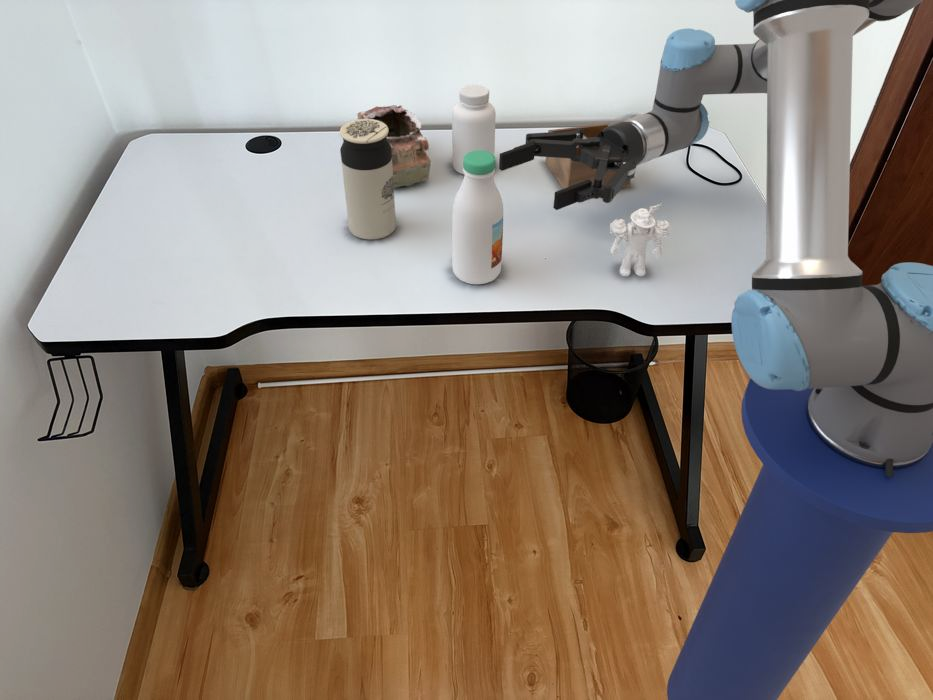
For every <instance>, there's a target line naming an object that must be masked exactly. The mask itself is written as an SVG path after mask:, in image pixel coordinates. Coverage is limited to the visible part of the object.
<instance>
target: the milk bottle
mask: <svg viewBox="0 0 933 700" xmlns="http://www.w3.org/2000/svg"><path fill="white" fill-rule="evenodd" d="M496 160H497V159H496V156H495V154H494V155H493V154H491V153H490V152H487V151H482V150H476V151H471V152H468V153H467V154H465V156H464V158H463V167H464V168H463V172H464V174H465V175H464V174H463V176H464V177H463V180H462V182H461V185H460V187H459V189H458V191H457V193H456V195H455V196H454V200H453V205H452V218H451V219H452V220H451V222H452V223H451V225H452V227H451V228H452V231H451V232H452V234H451V238H452V241H451V243H452V244H451V247H452V249H451V251H452V252H451V254H452V255H451V256H452V257H451V260H452V261H451V263H452V264H451V266H452V272H453V274H454V276H455V277H456V279H458V280H460V281H461V282H463V283H467V284H471V285H484V284H488V283H491V282H492V281H494V280H496V279H497V278H498V277H499V276H500V274H501V271H502V258H503V239H504V203H503V199H502V195H501V194H500V191H499V189H498V186H497V184H496V181H495V177H494V174H495V173H496V162H497V161H496Z"/></svg>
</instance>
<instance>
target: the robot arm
mask: <svg viewBox="0 0 933 700" xmlns="http://www.w3.org/2000/svg"><path fill="white" fill-rule="evenodd" d="M923 1H924V0H734V4H735V6H736V7H737V8H738V9H740V10H741V11H744V13H751V12H752V17H753V28H752V29H753V31H752V32H753V35H754V36H756V37H757V38H758V40H756V41H755V42H754V43H735V44H732V43H731V44H716V40H715V37H714V36H713V35H712V34H711V33H710V32H709V31H708V32H707V31H705V30H702V29H694V28H680V29H677V30H674V31H673V32H671V33H670V34H669V35H668V36H667V38H666V41H665V45H664V47H663V51H662V55H661V58H660V63H659V64H660V65H659V70H658V71H659V72H658V77H657V83H656V89H655V95H654V100H653V103H652V104H653V105H652V110H650V111H648V112H646V113H643V114H640V115H637V116H634V117H630V118H627V119H625V120H624V121H623V120H622V121H621V122H618V123H614V124H610V125H611V126H608V127H606V128H604V129H603V130H602V132H601V133H600V134H599V135H598V136H597V137H590V138H587V137H585V136H584V130H583V129H576V130H573V131H564V132H548V131H547V132H532V133H531V132H530V133H526V134H525V143H524V144H521V145H518V146H514V148H512V149H509V150H506V151H503V152H500V153H499V160H498V170H499V171H501V172H503V171H507V170H508V169H512V168H514V167H517V166H520V165H523V164H526V163H528V162H532V161H534V160H535V157H541V158H546V157H555V158H570V159H571V161H575V162H582V163H584V164H586V165H588V166H589V167H590V168H591V169H597V172H596V176H595V178H594V184H593V185H592V181H590V180H589V179H588V180H585V181H583V182H580V183H578V184H575V185H572V186H570V187H567V188H564V189H563V188H562V189H560V190H556V191H554V197H553V207H552V208H553V209H554V210H555V211H558V210H561V209H564V208H567V207H568V206H571V205H574V204H576V203H578V204H579V203H583V202H586V201H589V200H591V199H595V200H598V199H602V202H603V203H605V204H610V203H612V202H613V200H614V198H615V197H616V196H617V194H618V193H619V192H620V191H621V189H623V188H622V187H623V185H624V184H625V183H626V181H628V180H630V179H631V180H632V179H634V178H635V176H636V170H637V166H640V165H642V164H645V163H647V162H649V161H652V160H656V159H658V158H660V157H664V156H666V155H669V154H672V153H674V152H678V151H681V150H684V149H687V148H689V147H690V146H692V145H694V144H696V143H697V142H700V141H701V140H702V139H703V138H704V137H705V136H706V135H707V132H708V130H709V126H710V121H709V117H708V116H709V112H708V110H707V108H706V107H705V105H704V103H702V100H703V97H704V96H706V95H709V96H710V95H735V94H736V95H737V94H738V95H739V94H742V95H743V94H745V95H746V94H766V183H765V185H766V186H765V187H766V190H765V191H766V193H765V194H766V197H765V199H766V200H765V201H766V202H765V206H766V207H765V221H766V222H765V259H764V261H763V262H762V263H761V264H760V265H759V266H758V267H757V268H756V269H755V271H754V272H752V273H751V289H748V290H746V291H744V292H742V293H740V294H739V295H738V296H737V297H736V299H735V301H734V302H733V303H734V308H732V311H731V333H732V341H733V345H734V349H735V351H736V355H737V358H738V360H739V362H740V364H741V365H742V368H743V369H744V371H745V373H746V375H747V376H748V377H749V378H751V379H752V380H753V381H754V382H755V383H757V384H758V385H760V386H761V387H764V388H767V389H772V390H790V389H792V390H795V391H802V390H805V389H811V388H814V389H813V391H812V392H811V395H810V397H809V399H808V401H807V404H806V416H807V420H808V422H809V425H810V427H811V428H812V430H813V431H814V433H815V434H816V435H817V437H818V438H819V439H820V440H821V441H822V442H823V443H824V444H825V445H826V446H828V447H829V448H830V449H832V450H833V451H834V452H836V453H837V454H839V455H841V456H843V457H844V458H846V459H848V460H851V461H853V462H855V463H858V464H861V465H864V466H868V467H872V468H877V469H885V473H886V477H893V470H894V469H902V468H907V467H910V466H912V465H915V464H916V463H918V462H919V461H921V460H922V459H923V458H924V456H925V455H926V454H927V452H928V450H929V449H930V447H931V445H932V443H933V265H930V264H925V263H920V262H910V261H909V262H907V261H906V262H899V263H896V264H893V265H892V266H890V267H889V268H888V270H886V271H885V272H883V273H882V275H881V278H880V281H881V282H879V283H878V284H871V285H863V270H862V269H860V268H859V267H858V265H856V264H855V263H854V262H853V261H852V260H851V259H850V257H849V223H850V222H849V221H850V220H849V218H850V177H851V176H850V175H851V168H850V167H851V132H852V129H851V128H852V124H851V123H852V94H853V93H852V90H853V89H852V88H853V87H852V86H853V48H854V47H853V45H854V42H853V41H854V36H856V35H857V34H859V33H860V32H862V31H864V30H865V29H866V28H868V27H870V26H872V25H873V24H875V23H876V22H888V21H889V22H890V21H892V20H896V18H897V19H898V17H901V16H903V15H905V13H907V12H909V11H910V10H912V9H914V8H915V7H917V6H918V5H919V4H921V3H922V2H923ZM581 145H582V146H581ZM578 146H581V148H580V151H579V155H576V150H577V148H578ZM607 170H611V171H613V172H616V173H615V174H614V176H613V177H612V178H611V179H610V181H609V182H608V183H607V184H606V186H603V183H604V179H605V176H606V173H607Z"/></svg>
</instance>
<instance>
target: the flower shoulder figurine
mask: <svg viewBox="0 0 933 700" xmlns="http://www.w3.org/2000/svg"><path fill="white" fill-rule="evenodd" d="M663 204H664V203H663V202H659V204H656V205H654V206H653V205H651V206H650V207H649V210H648V209H647V208H644V207H641V208H638V209H637V210H635V211H633V212H632V213H631V214H630V220H631V221H629V222H628V223H627V224H626V220H625V219H622V218H619V219H618V218H615V219H614V220H613V221H611V223H610V224H609V225H610V226H609V227H610V228H609V234H610V235H612V234H614V236H615V238H614V240H613V243H612V245H611V246H610V250H609V251H610V255H611V256H615V251H616V250H617V251H618V253H620V252H621V245H620V244H621V243H622V242H623V240H625V242H626V243H627V244H626V246H625V249H624V255H623V260H622V262H621V264H620V267H619V274H620V275H621V276H622V277H630V276H631V267H632V262H633V258H634V256H636V261H635V263H634V266H633V271H634V274H635V275H636V276H637V277H645V275H646V261H647V260H646V258H647V244H648V243H649V241H653V244H654V246H655V247H654V248H653V250H652V254H655V253H657V256H656V258H657V259H659V258H662V257H663V253H664V251H663V246H662V240H663V239H665V238H667V237H668V236H670V235H669V234H670V233H669V230H670V222H668V221H667V220H665V219H663V220H662V219H659V220H656V219H655V218H654V216H653V215H652V214H651V213H654V214H655V212H656V210H660V208H661V207H662V205H663ZM617 234H618V235H617ZM659 235H662V237H661V236H659ZM663 235H665V236H663Z"/></svg>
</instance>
